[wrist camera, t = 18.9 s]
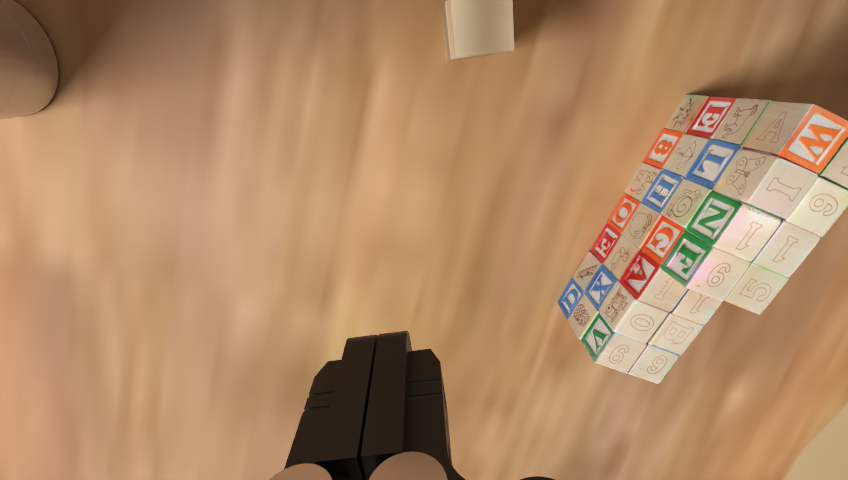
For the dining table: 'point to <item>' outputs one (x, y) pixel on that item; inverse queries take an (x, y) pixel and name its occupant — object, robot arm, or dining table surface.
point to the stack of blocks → (707, 226)
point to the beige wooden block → (477, 28)
